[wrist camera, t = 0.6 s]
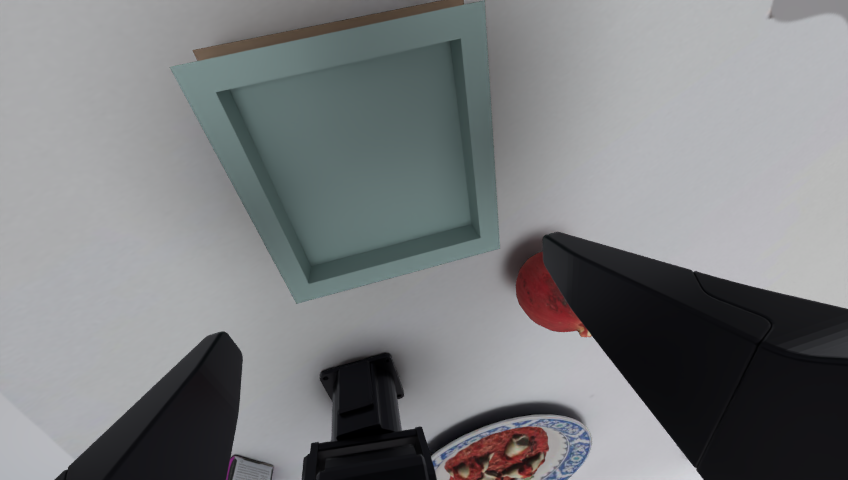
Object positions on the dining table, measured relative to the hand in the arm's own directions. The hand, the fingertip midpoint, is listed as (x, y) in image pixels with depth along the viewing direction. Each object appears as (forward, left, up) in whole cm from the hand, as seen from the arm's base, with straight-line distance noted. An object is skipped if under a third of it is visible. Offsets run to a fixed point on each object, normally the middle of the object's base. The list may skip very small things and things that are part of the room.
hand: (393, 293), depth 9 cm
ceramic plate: (-45, -6, -14) cm, 48 cm away
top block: (+1, 0, -11) cm, 11 cm away
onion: (-12, -11, -14) cm, 22 cm away
